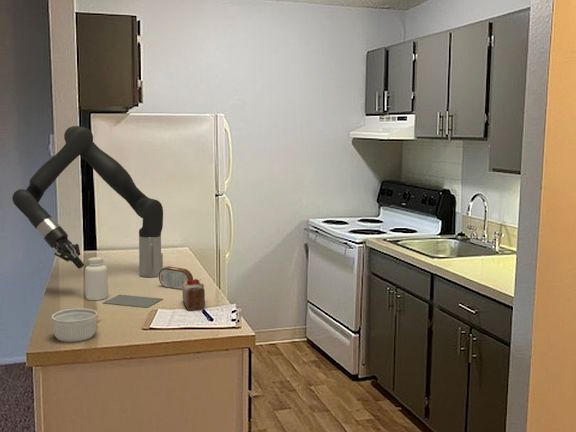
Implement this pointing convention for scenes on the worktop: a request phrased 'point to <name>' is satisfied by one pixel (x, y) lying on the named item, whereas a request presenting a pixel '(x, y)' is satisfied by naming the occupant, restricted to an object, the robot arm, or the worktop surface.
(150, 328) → the worktop surface
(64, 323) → the ramekin
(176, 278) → the tin
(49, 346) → the worktop surface
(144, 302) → the mat
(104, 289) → the pill bottle
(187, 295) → the food item
